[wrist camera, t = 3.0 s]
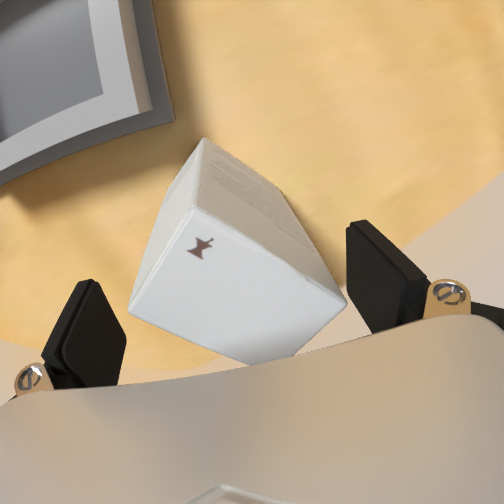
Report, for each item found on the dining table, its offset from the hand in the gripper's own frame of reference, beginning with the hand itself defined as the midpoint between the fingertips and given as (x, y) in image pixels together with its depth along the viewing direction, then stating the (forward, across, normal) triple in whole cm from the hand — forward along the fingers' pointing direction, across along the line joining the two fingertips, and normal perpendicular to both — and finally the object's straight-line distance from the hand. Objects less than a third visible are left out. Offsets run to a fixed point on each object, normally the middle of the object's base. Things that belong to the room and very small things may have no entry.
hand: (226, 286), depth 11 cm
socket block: (+10, +9, -14) cm, 19 cm away
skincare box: (+10, -1, 0) cm, 10 cm away
